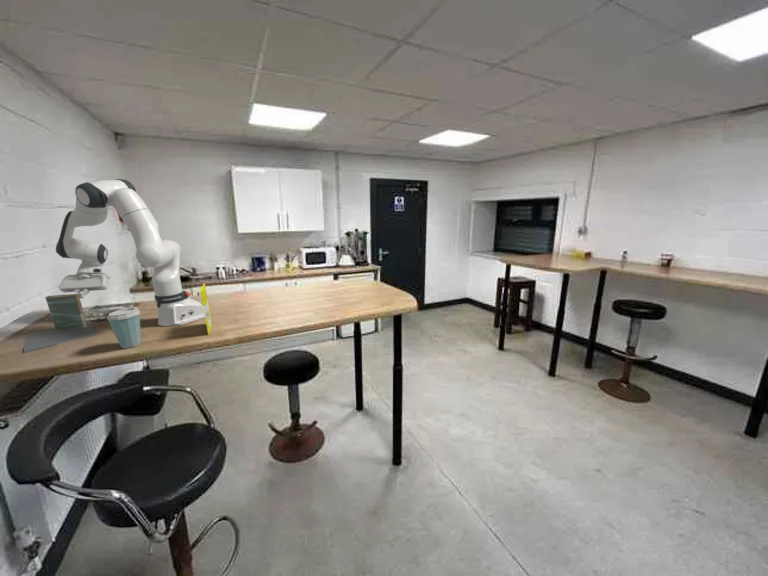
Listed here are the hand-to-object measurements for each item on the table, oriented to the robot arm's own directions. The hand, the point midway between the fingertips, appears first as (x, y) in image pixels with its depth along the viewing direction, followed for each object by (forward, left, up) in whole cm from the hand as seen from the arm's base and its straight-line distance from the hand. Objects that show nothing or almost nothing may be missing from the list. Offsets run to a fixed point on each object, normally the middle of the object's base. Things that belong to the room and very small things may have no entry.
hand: (79, 297), depth 158 cm
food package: (-38, +60, -13) cm, 72 cm away
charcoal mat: (+10, +15, -12) cm, 22 cm away
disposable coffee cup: (-10, +53, -13) cm, 55 cm away
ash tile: (+6, +8, -12) cm, 15 cm away
